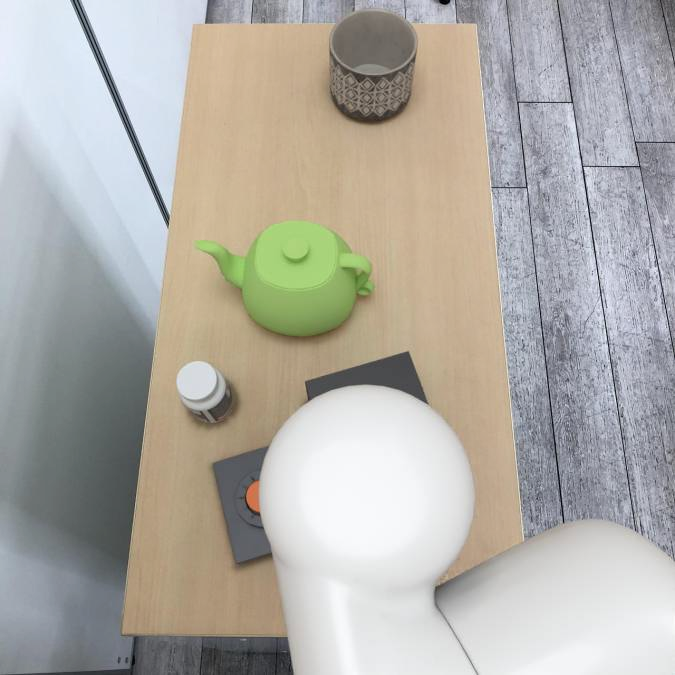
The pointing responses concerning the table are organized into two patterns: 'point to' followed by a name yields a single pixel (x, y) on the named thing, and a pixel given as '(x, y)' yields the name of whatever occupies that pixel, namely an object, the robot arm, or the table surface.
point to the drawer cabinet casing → (372, 377)
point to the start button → (253, 496)
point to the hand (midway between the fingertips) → (352, 542)
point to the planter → (372, 63)
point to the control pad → (242, 504)
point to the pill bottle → (205, 392)
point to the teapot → (296, 277)
